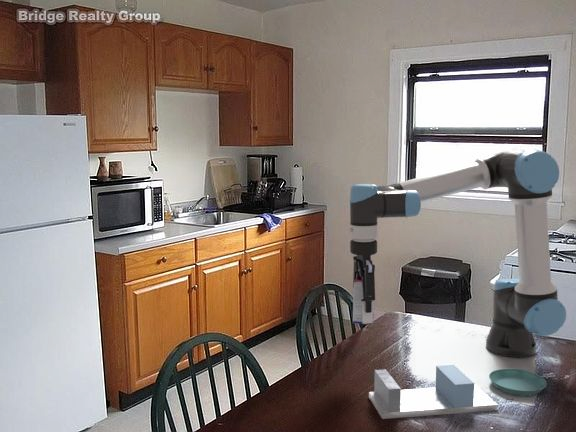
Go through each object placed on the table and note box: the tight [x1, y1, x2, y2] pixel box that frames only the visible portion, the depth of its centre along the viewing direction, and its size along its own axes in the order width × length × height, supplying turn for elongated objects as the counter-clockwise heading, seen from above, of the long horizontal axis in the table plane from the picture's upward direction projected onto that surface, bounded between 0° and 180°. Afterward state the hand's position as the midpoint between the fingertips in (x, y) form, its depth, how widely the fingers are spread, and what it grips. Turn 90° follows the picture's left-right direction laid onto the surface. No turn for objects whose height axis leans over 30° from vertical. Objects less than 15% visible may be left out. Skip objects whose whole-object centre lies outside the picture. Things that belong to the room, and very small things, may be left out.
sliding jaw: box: [435, 364, 475, 408], centre depth 150 cm, size 5×12×6 cm, turn 8°
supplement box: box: [352, 279, 375, 325], centre depth 165 cm, size 6×6×12 cm
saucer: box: [488, 368, 548, 397], centre depth 160 cm, size 15×15×3 cm
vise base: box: [368, 368, 499, 420], centre depth 150 cm, size 30×12×8 cm, turn 98°
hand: (363, 318), depth 166 cm, fingers closed on supplement box, 7 cm apart
